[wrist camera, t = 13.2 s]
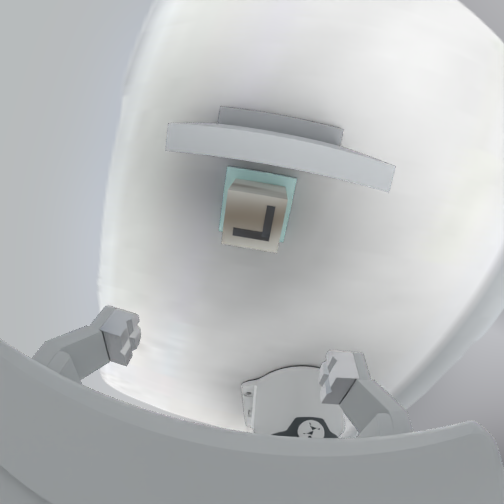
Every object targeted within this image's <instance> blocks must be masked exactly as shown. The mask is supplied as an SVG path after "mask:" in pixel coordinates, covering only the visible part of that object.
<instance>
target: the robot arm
mask: <svg viewBox="0 0 504 504" xmlns="http://www.w3.org/2000/svg"><path fill="white" fill-rule="evenodd" d="M138 323H139V315H138V314H136V313H133V312H129V311H126V310H123V309H120V308H116V307H113V306H110V305H107V306H105V307H104V308H103V310H102V311H101V312H100V313H99V315H98V316H97V317H96V318H95V319H94V321H93V322H92V323H91V324H90V326H84V327H81V328H79V329H76V330H74V331H71V332H69V333H66V334H64V335H61V336H58V337H56V338H53V339H51V340H48V341H46V342H45V343H44V344H43V345H42V346H41V347H40V349H39V350H38V351H37V352H36V354H35V355H34V356H33V357H32V358H30V357H28V356H27V355H25V354H23V353H22V352H20V351H18V350H17V349H15V348H14V347H12V346H10V345H9V344H7V343H6V342H4V341H3V340H2V339H0V504H504V468H503V464H502V460H501V456H500V453H499V449H498V446H497V443H496V441H495V439H494V437H493V435H491V433H490V432H488V431H487V430H486V429H485V428H484V427H482V426H481V425H480V424H479V423H477V422H476V421H473V420H470V421H465V422H462V423H457V424H454V425H449V426H444V427H440V428H435V429H429V430H424V431H417V432H413V429H412V425H411V422H410V419H409V415H408V412H407V410H406V409H405V408H404V407H402V406H401V405H400V404H399V403H398V402H397V401H396V400H395V399H394V398H393V397H392V396H391V395H390V394H389V393H388V392H386V391H385V390H384V389H383V388H382V387H381V386H380V385H379V384H378V383H377V382H376V381H375V380H371V378H370V374H369V371H368V368H367V364H366V361H365V358H364V354H363V353H362V352H352V351H351V352H350V351H338V350H329V351H328V352H327V354H326V361H325V362H323V363H322V365H321V367H320V369H319V368H315V367H303V366H302V367H289V368H284V369H280V370H277V371H274V372H271V373H269V374H267V375H265V376H264V377H262V378H260V379H258V380H252V381H248V382H244V383H243V384H242V385H241V390H242V399H243V407H244V416H245V423H246V426H248V427H250V428H253V433H250V432H243V431H236V430H230V429H224V428H219V427H214V426H209V425H204V424H199V423H195V422H190V421H186V420H182V419H178V418H175V417H171V416H167V415H164V414H160V413H157V412H154V411H150V410H147V409H144V408H141V407H138V406H135V405H132V404H129V403H126V402H124V401H121V400H118V399H115V398H113V397H110V396H108V395H105V394H103V393H100V392H98V391H95V390H93V389H91V388H89V387H86V386H84V385H82V382H81V379H83V378H85V377H86V376H88V375H89V374H91V373H93V372H94V371H96V370H98V369H99V368H101V367H102V366H104V365H106V364H107V363H109V362H110V361H112V362H115V363H118V364H121V365H124V366H127V365H128V363H129V361H130V359H131V358H132V356H133V355H132V351H133V350H135V349H137V347H138V345H139V342H140V338H141V329H140V328H139V326H138V325H137V324H138ZM344 413H345V414H346V416H347V417H348V418H349V420H350V421H351V422H352V424H353V425H354V426H355V428H356V429H357V430H358V432H359V433H360V434H359V435H358V436H357V437H356V438H338V437H339V436H340V435H341V434H342V433H343V432H344V430H345V423H344Z"/></svg>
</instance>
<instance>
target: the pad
mask: <svg viewBox="0 0 504 504" xmlns="http://www.w3.org/2000/svg"><path fill="white" fill-rule="evenodd" d="M236 178H237V179H244V180H250V181H256V182H262V183H268V184H273V185H279V186H284V187H286V192H287V198H288V202H287V207H286V212H285V216H284V221H283V226H282V231H281V236H280V240H279V242H283V241H284V237H285V232H286V228H287V223H288V219H289V214H290V210H291V205H292V200H293V196H294V191H295V186H296V181H297V178H295V177H290V176H285V175H279V174H274V173H268V172H263V171H257V170H251V169H245V168H238V167H232V166H227V171H226V178H225V185H224V193H223V200H222V208H221V216H220V224H219V231H221V232H223V224H224V216H225V208H226V200H227V193H228V189H229V187H230V186H231V184H232V183H233V182H234V180H235V179H236Z"/></svg>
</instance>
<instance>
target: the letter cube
mask: <svg viewBox="0 0 504 504" xmlns="http://www.w3.org/2000/svg"><path fill="white" fill-rule="evenodd" d="M287 202H288V198H287V192H286V187H284V186H279V185H273V184H268V183H262V182H256V181H250V180H244V179H237V178H236V179H235V180H234V182H233V183H232V184H231V186H230V187H229V189H228V193H227V200H226V208H225V216H224V224H223V233H222V241H221V244H225V245H231V246H236V247H242V248H248V249H254V250H260V251H266V252H271V253H277V250H278V245H279V240H280V236H281V231H282V226H283V221H284V216H285V212H286V207H287Z"/></svg>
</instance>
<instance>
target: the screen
mask: <svg viewBox="0 0 504 504" xmlns="http://www.w3.org/2000/svg"><path fill="white" fill-rule="evenodd" d="M343 130H344V129H341V128H337V127H333V126H329V125H325V124H321V123H317V122H313V121H308V120H304V119H299V118H294V117H289V116H284V115H278V114H273V113H267V112H261V111H254V110H247V109H239V108H231V107H222V106H220V112H219V118H218V123H168V130H167V139H166V149H165V151H172V152H182V153H192V154H201V155H209V156H216V157H224V158H231V159H238V160H244V161H250V162H257V163H262V164H268V165H274V166H279V167H284V168H289V169H294V170H299V171H304V172H309V173H313V174H318V175H322V176H327V177H331V178H335V179H339V180H344V181H348V182H352V183H355V184H359V185H363V186H367V187H370V188H374V189H378V190H381V191H385V192H388V193H389V191H390V187H391V183H392V180H393V176H394V172H395V168H396V166H393V165H391V164H388V163H386V162H383V161H381V160H378V159H376V158H373V157H370V156H368V155H365V154H362V153H359V152H356V151H353V150H351V149H348V148H345V147H342V146H340V144H341V140H342V135H343Z"/></svg>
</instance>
